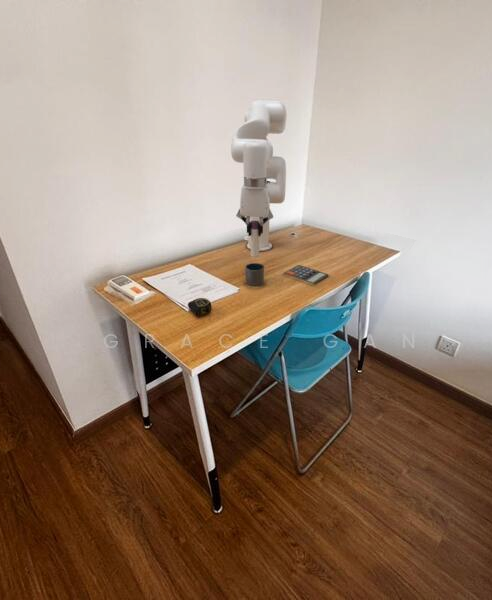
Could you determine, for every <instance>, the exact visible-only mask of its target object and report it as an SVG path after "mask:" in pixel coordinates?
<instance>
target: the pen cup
mask: <svg viewBox="0 0 492 600" xmlns="http://www.w3.org/2000/svg"><path fill="white" fill-rule="evenodd" d="M244 278H245V279H244V280H245V285H246V286H248V287H252V288H257V287H258V288H259V287H262V286H263V285H264V284H265V266H264V264H262V263H257V262H250V263H247V264H246V265H245V266H244Z"/></svg>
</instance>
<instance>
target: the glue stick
mask: <svg viewBox="0 0 492 600" xmlns="http://www.w3.org/2000/svg"><path fill="white" fill-rule="evenodd" d="M250 256H251V257H252V258H257V257H259V256H260V251H259V221H251V249H250Z"/></svg>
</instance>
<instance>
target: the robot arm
mask: <svg viewBox="0 0 492 600" xmlns="http://www.w3.org/2000/svg"><path fill="white" fill-rule="evenodd" d="M243 119H244V120H243V121H244V123H242V124H241V125H239V126H238V127H237V128H236V129H234V132H233V134H232V139H231V143H230V155H231V158H232V160H233V161H234V162H235V163H239V164H243V165H242V166H243V185H241V189H240V200H239V209H238V211H237V213H236V214H235V215H236V218H238V219H240V220H241V221H242V222H244V224H245V225H246V234H248V235H245V236H244V241H246V242H247V243H246V247H247V249H249V250H251V221H259V252H264V251H269V250H271V249H272V248H273V245H272V243H271V242H270V220H272V219H273V218H274V214H273V211H272V210H271V208H270V207H271V205H270V204H282V203H284V201H285V200H286V199H285V198H286V185H287V184H286V183H287V164H286V163H287V162H286V160H285V158H284V157H282V156H276V155H275V156H274V147H273V145H272V143H271V142H270V141H269V139H268V136H269V134H277V135H278V134H282V133H284V131H285V129H286V125H287V108H286V105H285V103H284V102H283V101H281V100H272V99H271V100H270V99H269V100H268V99H266V100H265V99H258V100H254V101H253V102H251V103H250V105H249V107H248V111H246V112H245V114H244V118H243ZM271 180H275V181H271Z"/></svg>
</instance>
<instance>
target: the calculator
mask: <svg viewBox="0 0 492 600" xmlns="http://www.w3.org/2000/svg"><path fill="white" fill-rule="evenodd" d="M283 274H284V275H286V276H289V277H293V278H295V279H298V280H301V281H304V282H307V283H309V284H312V285H313V286H315V285H317V284H318V283H319V282H321V281H323V280H324V279H326V278H327V277H329V274H328V273H326V272H323V271H319V270H317V269H313V268H310V267H307V266H304V265H301V264H298V265H296V266H294V267H292V268H290V269H288V270H286V271H284V272H283Z"/></svg>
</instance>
